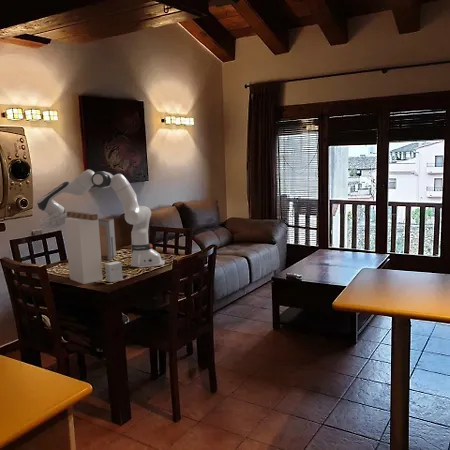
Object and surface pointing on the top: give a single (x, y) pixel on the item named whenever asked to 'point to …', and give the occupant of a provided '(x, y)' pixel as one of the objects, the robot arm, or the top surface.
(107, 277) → the small box
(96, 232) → the off-white pedestal
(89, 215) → the walnut bar
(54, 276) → the top surface
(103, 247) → the cabinet
